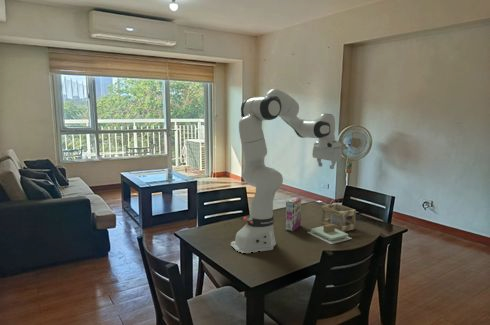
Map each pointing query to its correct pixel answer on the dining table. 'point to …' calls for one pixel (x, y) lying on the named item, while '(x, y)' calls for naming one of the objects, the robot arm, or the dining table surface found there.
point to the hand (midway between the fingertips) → (325, 167)
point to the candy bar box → (293, 214)
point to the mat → (328, 239)
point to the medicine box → (336, 220)
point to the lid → (329, 232)
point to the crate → (335, 212)
